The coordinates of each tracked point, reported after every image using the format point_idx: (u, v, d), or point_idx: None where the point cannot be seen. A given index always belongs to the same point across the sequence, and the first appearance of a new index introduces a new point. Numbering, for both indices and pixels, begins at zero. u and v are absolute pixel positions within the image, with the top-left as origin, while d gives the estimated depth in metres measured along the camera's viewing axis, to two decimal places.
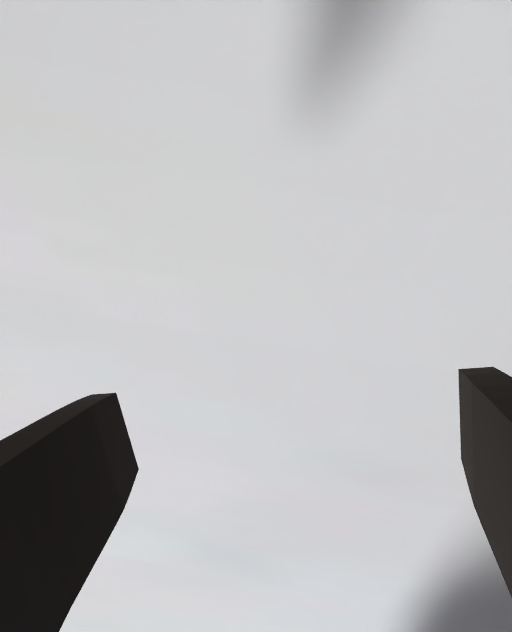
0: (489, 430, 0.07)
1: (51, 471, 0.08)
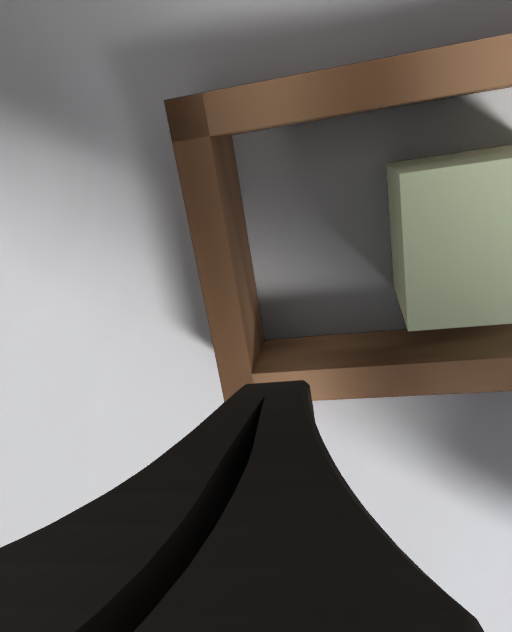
0: None
1: None
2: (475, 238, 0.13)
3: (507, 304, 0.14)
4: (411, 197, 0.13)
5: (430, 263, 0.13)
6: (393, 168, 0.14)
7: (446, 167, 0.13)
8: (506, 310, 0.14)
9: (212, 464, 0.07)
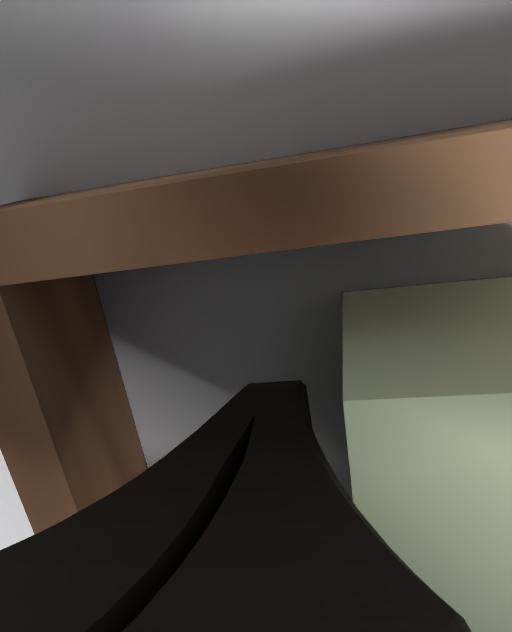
0: None
1: None
2: (496, 520, 0.07)
3: None
4: (368, 442, 0.06)
5: (406, 551, 0.07)
6: (343, 342, 0.08)
7: (439, 393, 0.06)
8: None
9: (217, 464, 0.06)
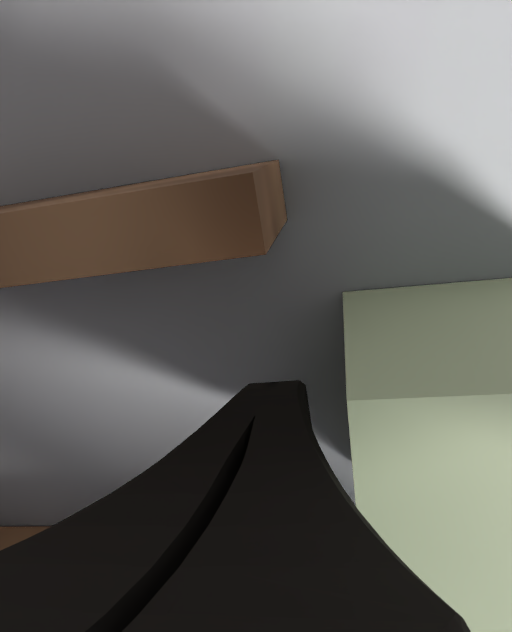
0: None
1: None
2: (498, 521, 0.07)
3: None
4: (371, 443, 0.06)
5: (409, 552, 0.07)
6: (345, 341, 0.08)
7: (443, 393, 0.06)
8: None
9: (217, 464, 0.06)
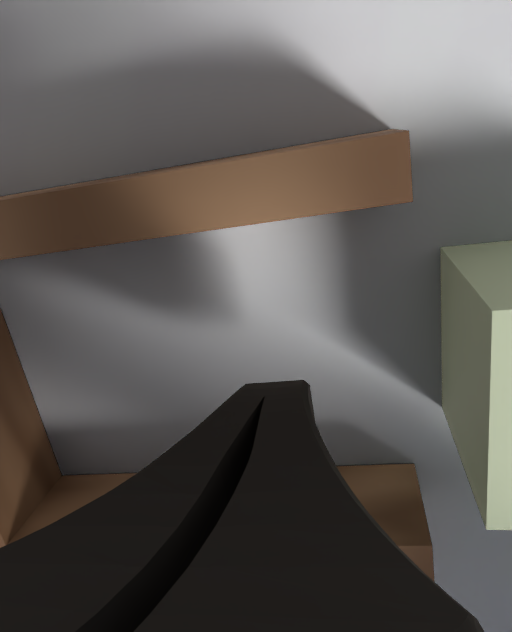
0: None
1: None
2: None
3: None
4: (508, 345, 0.08)
5: None
6: (466, 277, 0.09)
7: None
8: None
9: (212, 464, 0.07)
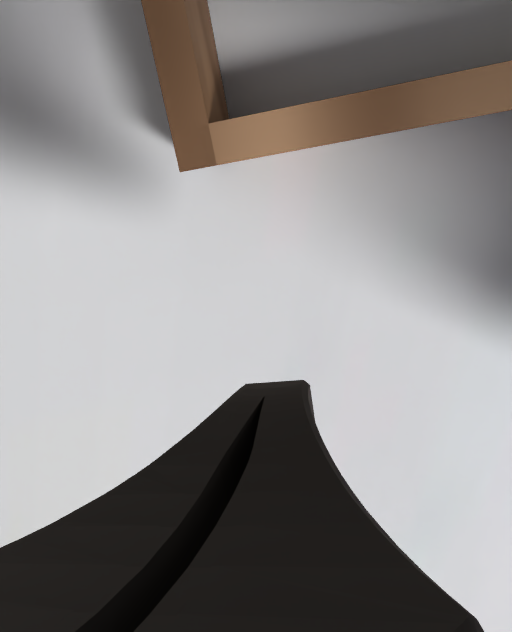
0: None
1: None
2: None
3: None
4: None
5: None
6: None
7: None
8: None
9: (212, 464, 0.07)
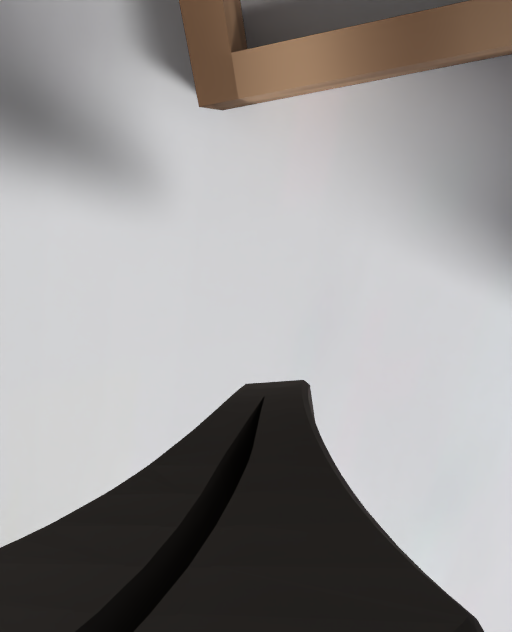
0: None
1: None
2: None
3: None
4: None
5: None
6: None
7: None
8: None
9: (212, 464, 0.07)
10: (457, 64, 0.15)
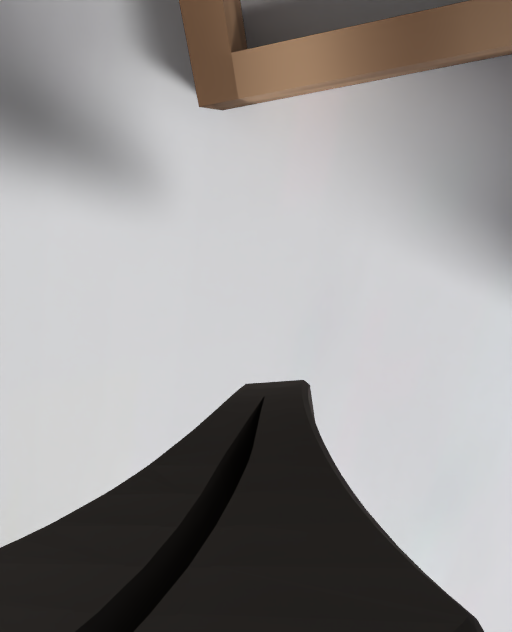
0: None
1: None
2: None
3: None
4: None
5: None
6: None
7: None
8: None
9: (212, 464, 0.07)
10: (457, 64, 0.15)
